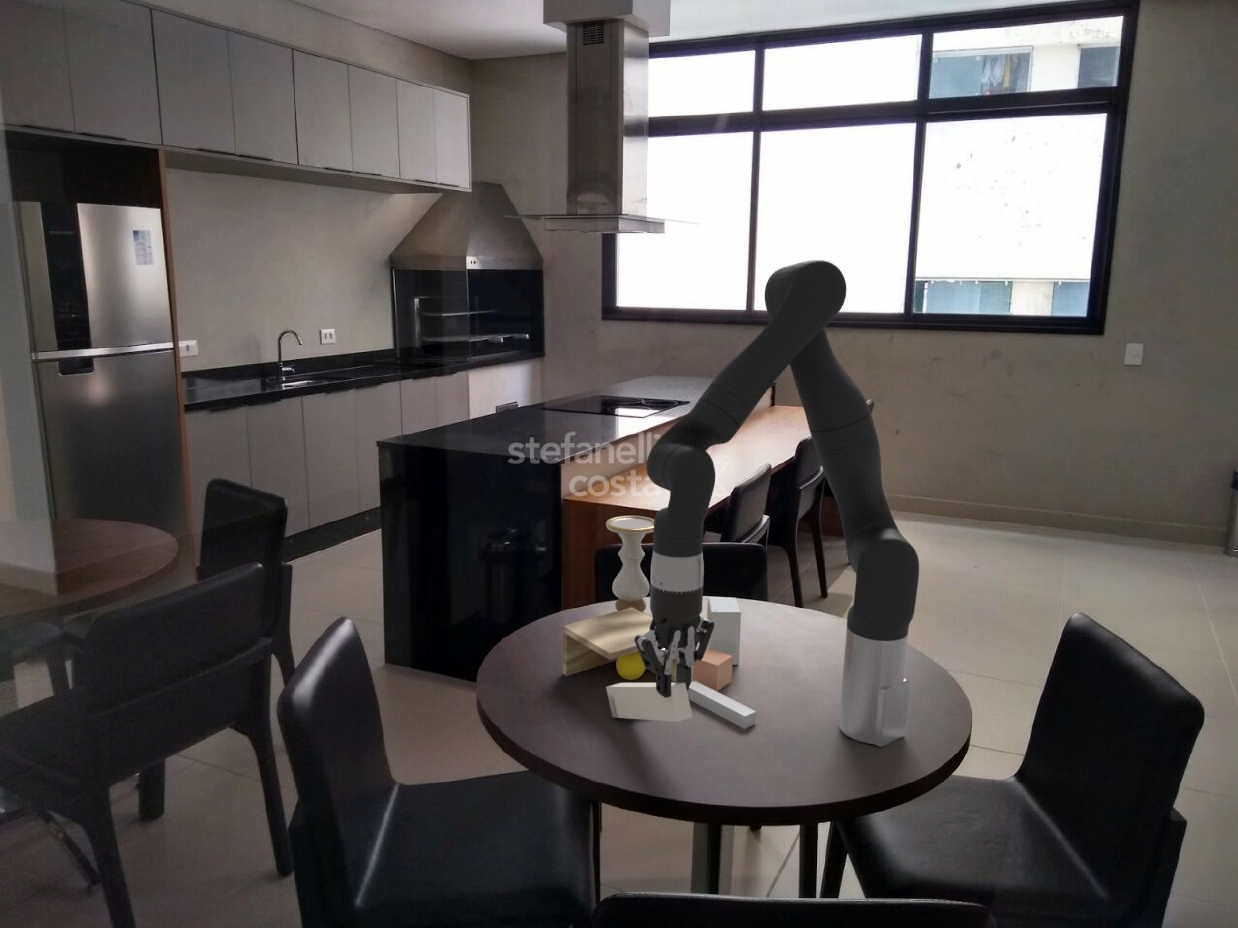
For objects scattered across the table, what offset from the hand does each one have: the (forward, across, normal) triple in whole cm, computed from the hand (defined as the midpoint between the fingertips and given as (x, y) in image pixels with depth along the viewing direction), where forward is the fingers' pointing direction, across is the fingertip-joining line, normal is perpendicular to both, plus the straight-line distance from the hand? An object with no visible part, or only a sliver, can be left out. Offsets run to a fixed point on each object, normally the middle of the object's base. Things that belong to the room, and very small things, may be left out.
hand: (673, 691), depth 129 cm
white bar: (+7, +4, +6) cm, 10 cm away
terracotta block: (+11, +22, +16) cm, 29 cm away
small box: (+11, +31, +22) cm, 40 cm away
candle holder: (+11, +22, +40) cm, 47 cm away
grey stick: (+11, +16, +7) cm, 21 cm away
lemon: (+11, +12, +25) cm, 30 cm away
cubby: (+11, +10, +26) cm, 30 cm away
